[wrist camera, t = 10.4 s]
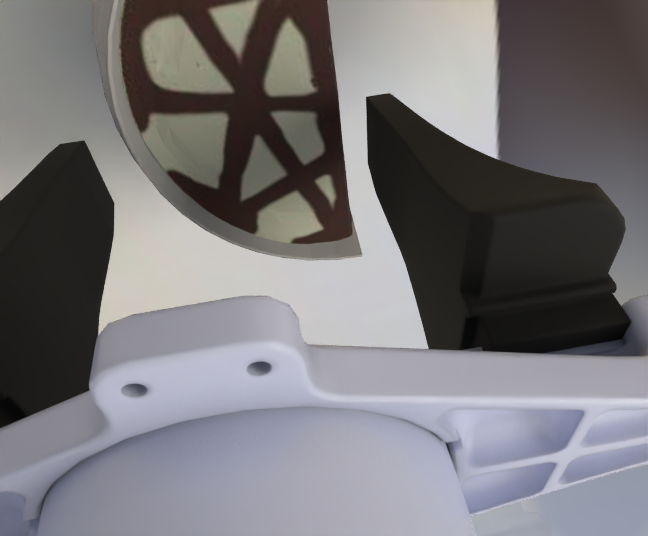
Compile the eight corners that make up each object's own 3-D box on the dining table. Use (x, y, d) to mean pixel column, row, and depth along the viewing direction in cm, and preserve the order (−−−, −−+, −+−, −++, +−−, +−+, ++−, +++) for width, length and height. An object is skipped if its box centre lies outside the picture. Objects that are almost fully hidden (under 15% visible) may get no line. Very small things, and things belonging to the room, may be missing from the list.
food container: (58, -226, 16) (-55, -173, 9) (267, -262, 16) (314, -239, 9) (187, 137, 25) (180, 303, 18) (319, 112, 25) (363, 267, 18)
